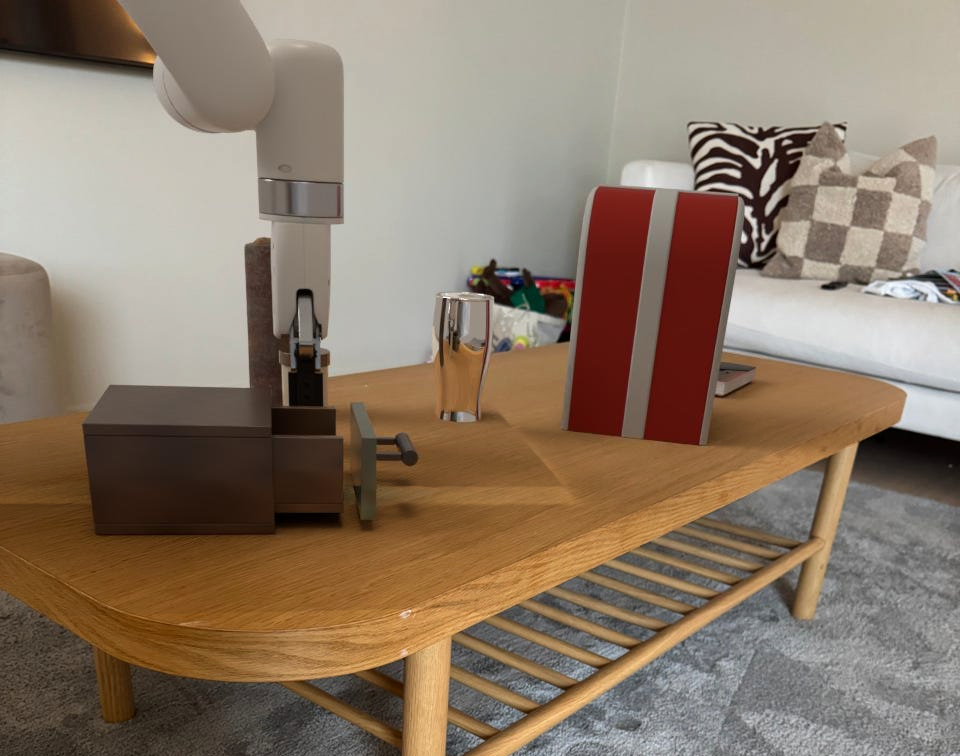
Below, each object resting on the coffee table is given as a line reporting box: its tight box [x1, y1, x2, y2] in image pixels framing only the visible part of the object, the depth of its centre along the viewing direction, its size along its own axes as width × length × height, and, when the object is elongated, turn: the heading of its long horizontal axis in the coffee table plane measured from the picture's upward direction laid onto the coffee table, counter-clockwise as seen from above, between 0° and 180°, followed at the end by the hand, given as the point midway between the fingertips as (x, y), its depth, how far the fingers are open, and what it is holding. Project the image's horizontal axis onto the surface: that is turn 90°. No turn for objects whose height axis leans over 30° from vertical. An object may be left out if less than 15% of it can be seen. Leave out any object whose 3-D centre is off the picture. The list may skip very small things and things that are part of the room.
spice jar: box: [279, 346, 331, 407], centre depth 93 cm, size 5×5×10 cm
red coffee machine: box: [560, 183, 746, 446], centre depth 116 cm, size 16×18×27 cm
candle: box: [243, 236, 289, 406], centre depth 104 cm, size 8×7×20 cm
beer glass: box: [431, 291, 495, 423], centre depth 109 cm, size 7×7×15 cm
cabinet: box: [81, 384, 276, 536], centre depth 81 cm, size 14×14×9 cm
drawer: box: [272, 401, 419, 521], centre depth 83 cm, size 16×13×7 cm
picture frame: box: [715, 361, 757, 398], centre depth 150 cm, size 16×2×22 cm
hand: (305, 406), depth 93 cm, fingers closed on spice jar, 4 cm apart
